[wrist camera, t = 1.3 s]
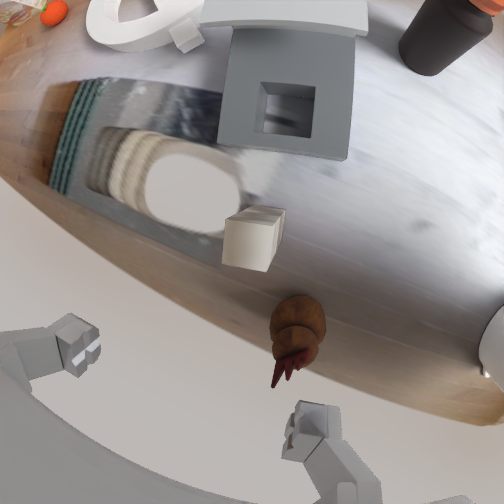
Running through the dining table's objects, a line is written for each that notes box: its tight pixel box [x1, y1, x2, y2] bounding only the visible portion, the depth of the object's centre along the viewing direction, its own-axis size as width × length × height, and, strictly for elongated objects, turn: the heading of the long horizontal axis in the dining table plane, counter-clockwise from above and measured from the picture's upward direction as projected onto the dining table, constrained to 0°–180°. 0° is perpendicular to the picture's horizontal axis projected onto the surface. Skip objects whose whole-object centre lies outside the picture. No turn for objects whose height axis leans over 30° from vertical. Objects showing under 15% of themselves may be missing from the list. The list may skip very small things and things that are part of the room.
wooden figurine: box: [269, 295, 326, 388], centre depth 30 cm, size 7×6×15 cm
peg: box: [222, 205, 286, 272], centre depth 29 cm, size 4×4×12 cm
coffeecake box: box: [0, 0, 47, 27], centre depth 21 cm, size 15×7×20 cm, turn 81°
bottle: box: [399, 0, 504, 76], centre depth 14 cm, size 7×7×20 cm
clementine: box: [40, 0, 68, 26], centre depth 27 cm, size 8×7×7 cm
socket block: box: [199, 0, 368, 161], centre depth 23 cm, size 14×16×14 cm
